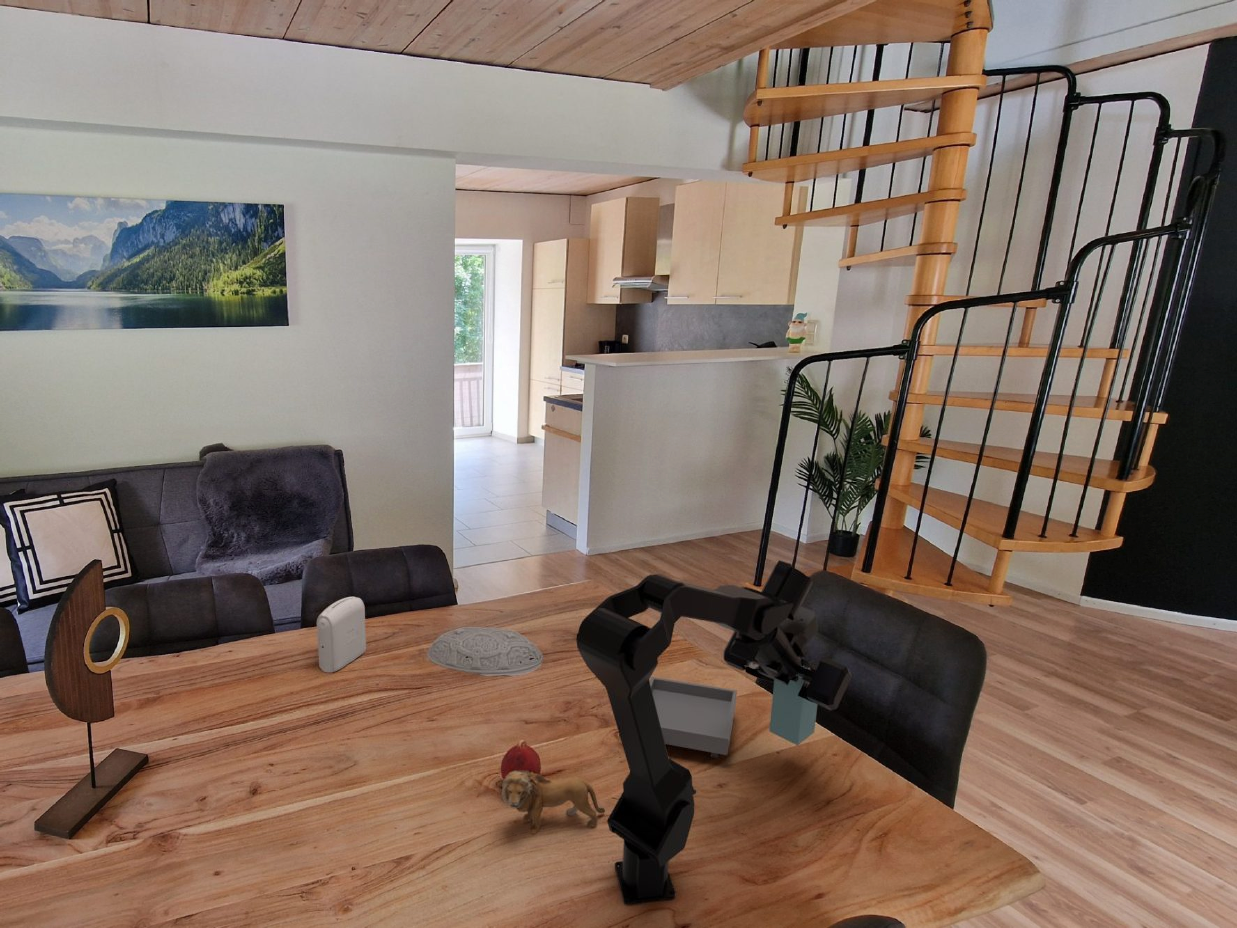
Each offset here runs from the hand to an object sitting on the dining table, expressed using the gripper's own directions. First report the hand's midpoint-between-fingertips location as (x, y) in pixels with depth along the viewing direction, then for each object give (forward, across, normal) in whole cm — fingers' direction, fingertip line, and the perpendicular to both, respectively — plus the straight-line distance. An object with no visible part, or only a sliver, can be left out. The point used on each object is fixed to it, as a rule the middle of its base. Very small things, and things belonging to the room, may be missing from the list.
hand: (800, 687), depth 116 cm
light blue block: (+4, 0, +6) cm, 7 cm away
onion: (-15, +24, +35) cm, 45 cm away
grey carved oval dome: (0, +61, +20) cm, 65 cm away
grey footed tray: (+5, +17, +14) cm, 22 cm away
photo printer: (-16, +78, +35) cm, 87 cm away
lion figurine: (-16, +16, +36) cm, 43 cm away
